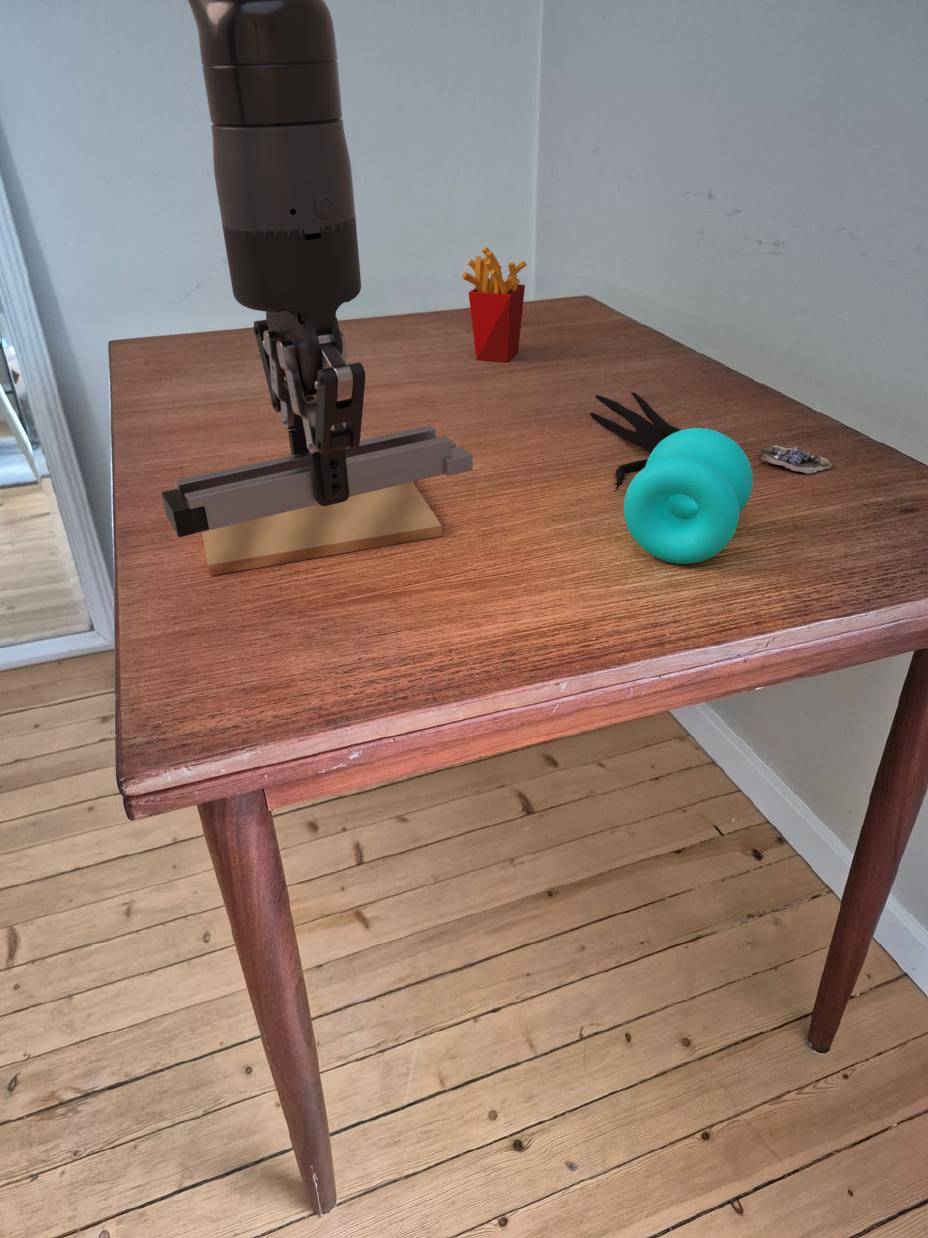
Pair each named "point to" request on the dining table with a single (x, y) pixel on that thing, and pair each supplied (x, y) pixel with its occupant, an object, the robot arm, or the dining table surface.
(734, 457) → the teal yo-yo
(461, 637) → the dining table surface
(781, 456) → the crystal mineral rock
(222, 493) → the steel tongs
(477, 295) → the french fries
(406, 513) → the cutting board
